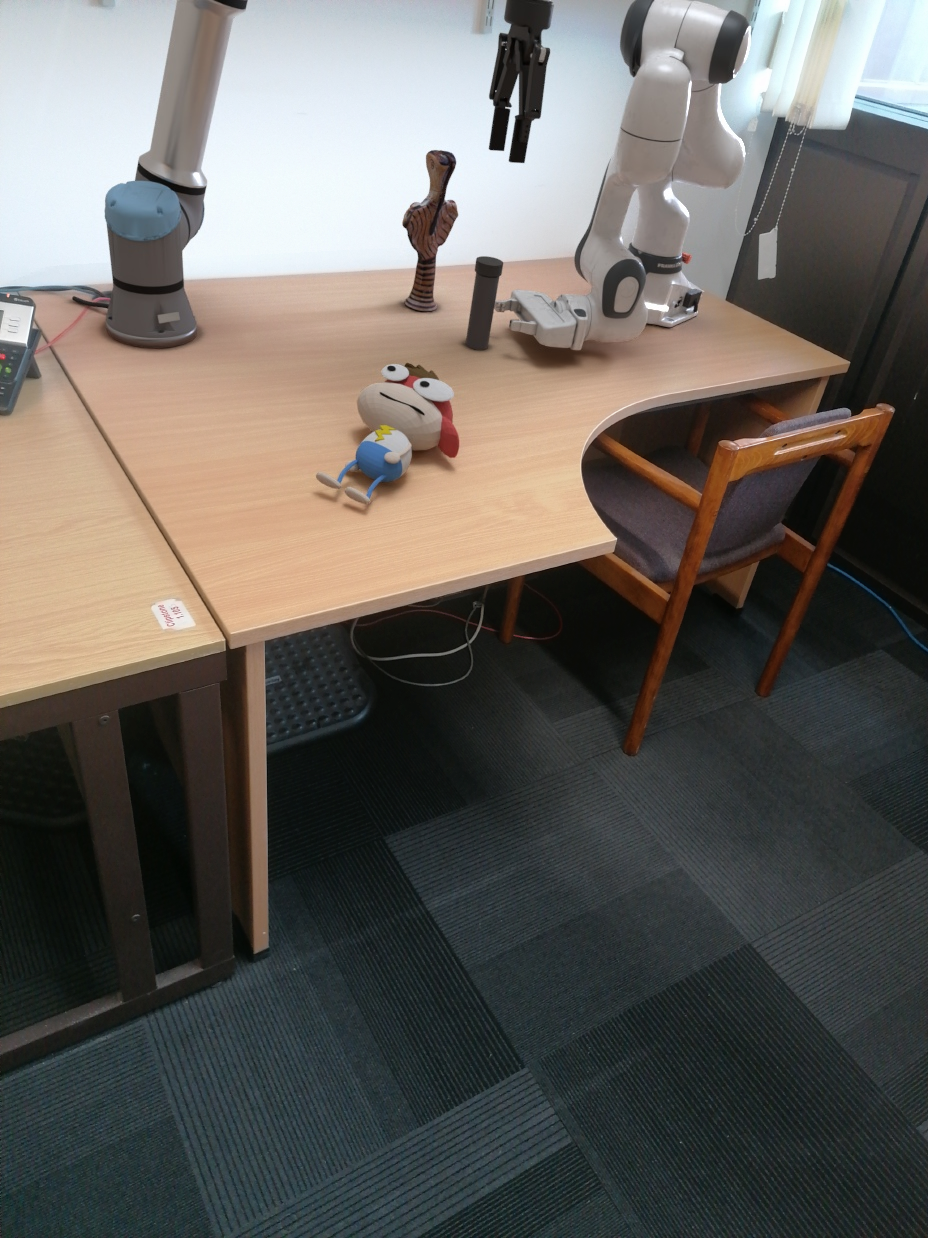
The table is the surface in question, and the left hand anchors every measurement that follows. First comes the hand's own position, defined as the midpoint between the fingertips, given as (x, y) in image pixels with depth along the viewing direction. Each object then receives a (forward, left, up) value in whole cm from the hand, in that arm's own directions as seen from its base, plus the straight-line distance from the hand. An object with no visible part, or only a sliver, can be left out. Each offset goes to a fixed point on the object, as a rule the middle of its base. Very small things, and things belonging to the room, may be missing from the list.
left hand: (506, 155), depth 153 cm
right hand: (+4, +2, -28) cm, 28 cm away
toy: (+1, -52, -34) cm, 62 cm away
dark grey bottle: (0, 0, -34) cm, 34 cm away
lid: (0, 0, -18) cm, 18 cm away
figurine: (-16, +13, -34) cm, 40 cm away
